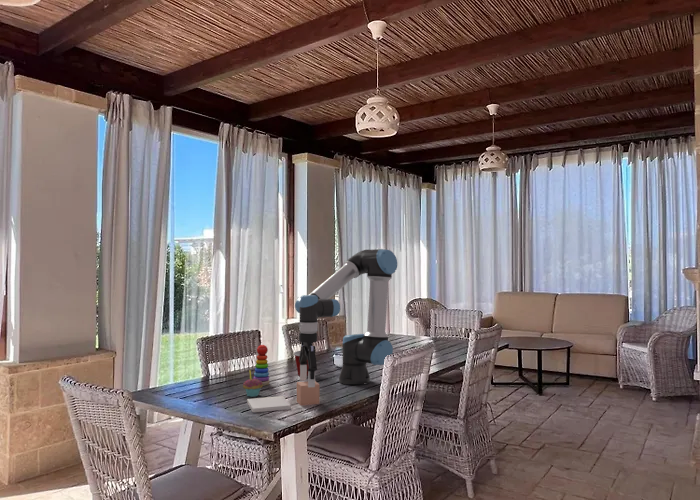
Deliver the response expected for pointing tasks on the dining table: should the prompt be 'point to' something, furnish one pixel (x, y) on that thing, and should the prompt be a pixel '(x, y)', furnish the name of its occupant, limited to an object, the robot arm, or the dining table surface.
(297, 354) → the plastic cup
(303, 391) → the tan cube
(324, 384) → the dining table surface
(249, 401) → the base plate
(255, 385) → the cupcake
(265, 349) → the stacking toy
